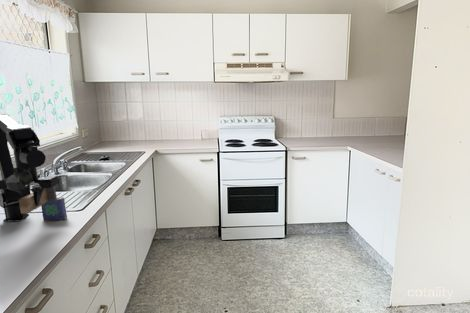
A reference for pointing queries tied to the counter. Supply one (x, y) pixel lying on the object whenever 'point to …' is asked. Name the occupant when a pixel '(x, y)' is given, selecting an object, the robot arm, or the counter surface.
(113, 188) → the counter surface
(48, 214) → the blue painted container
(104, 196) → the counter surface
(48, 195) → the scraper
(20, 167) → the robot arm
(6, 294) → the counter surface
